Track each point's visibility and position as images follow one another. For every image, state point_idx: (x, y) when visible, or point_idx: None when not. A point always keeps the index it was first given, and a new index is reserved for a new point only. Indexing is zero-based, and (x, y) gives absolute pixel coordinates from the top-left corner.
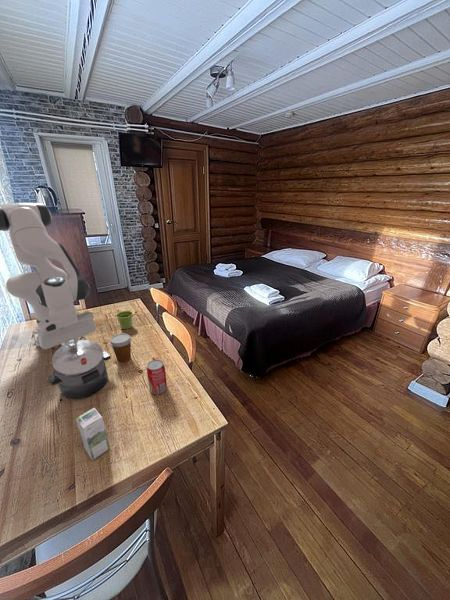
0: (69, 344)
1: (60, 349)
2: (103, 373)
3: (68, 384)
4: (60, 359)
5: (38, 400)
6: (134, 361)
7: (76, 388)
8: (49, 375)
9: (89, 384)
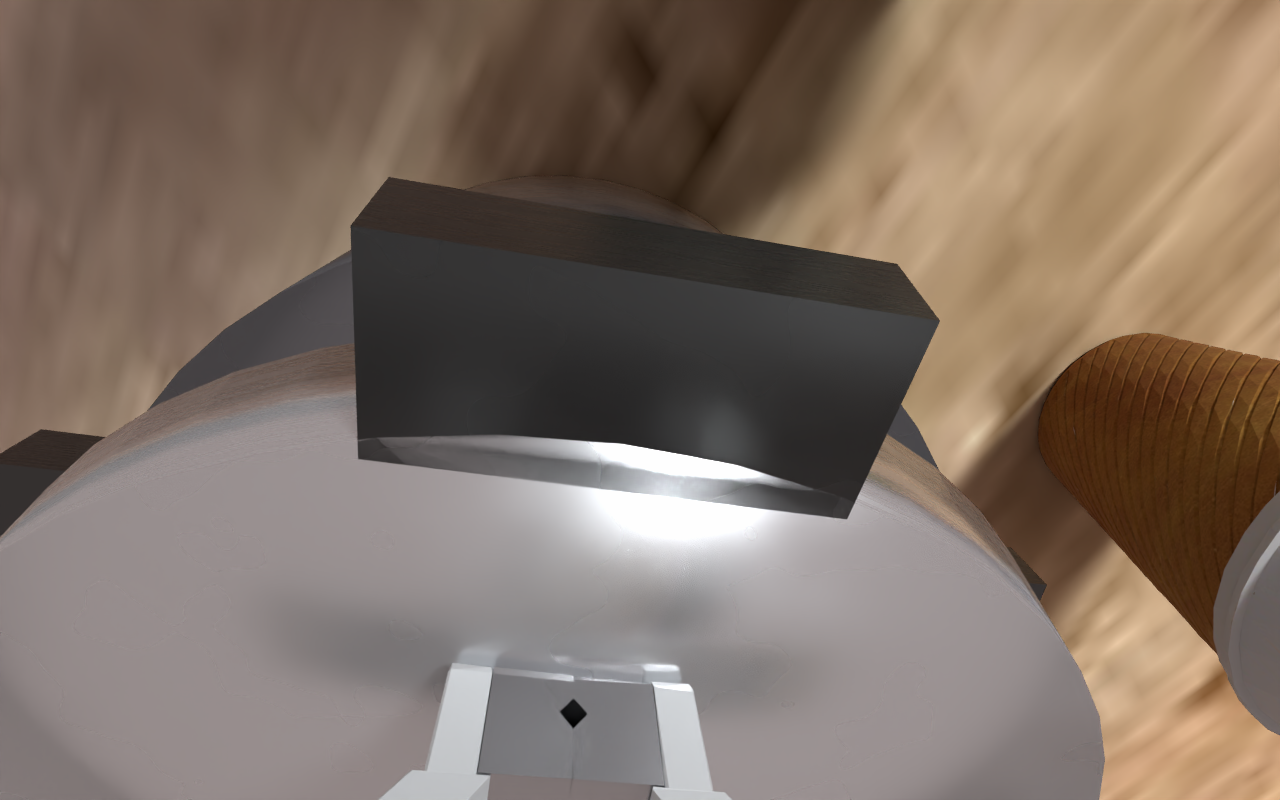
0: (502, 776)
1: (221, 539)
2: None
3: None
4: (120, 792)
5: (45, 249)
6: (1117, 552)
7: None
8: (28, 469)
9: None
